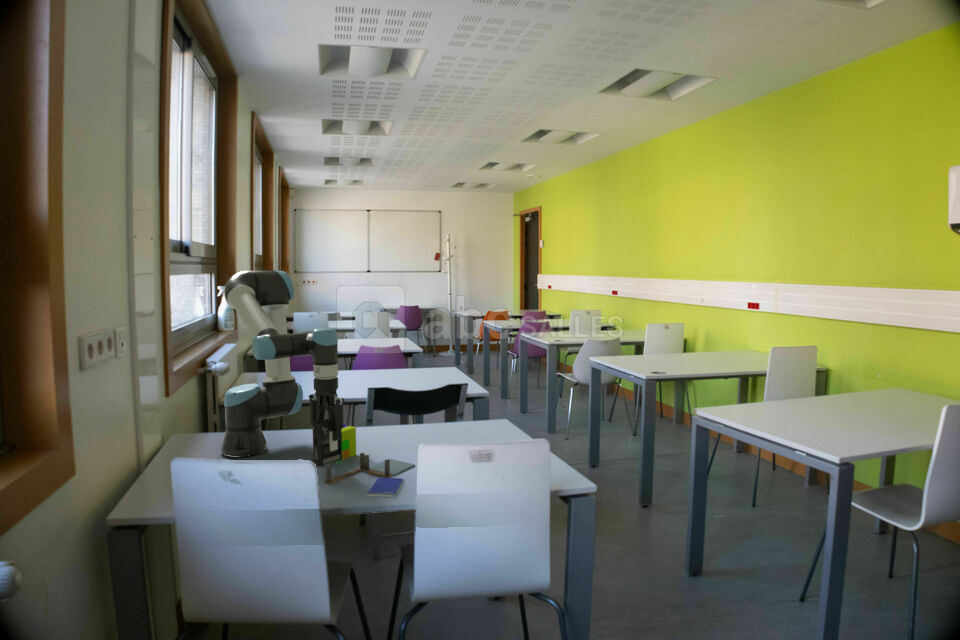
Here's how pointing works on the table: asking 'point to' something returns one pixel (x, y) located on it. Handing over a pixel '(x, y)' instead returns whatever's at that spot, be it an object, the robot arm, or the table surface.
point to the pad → (393, 467)
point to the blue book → (385, 487)
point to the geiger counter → (324, 444)
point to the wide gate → (343, 476)
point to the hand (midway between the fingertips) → (327, 448)
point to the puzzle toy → (348, 442)
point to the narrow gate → (374, 472)
